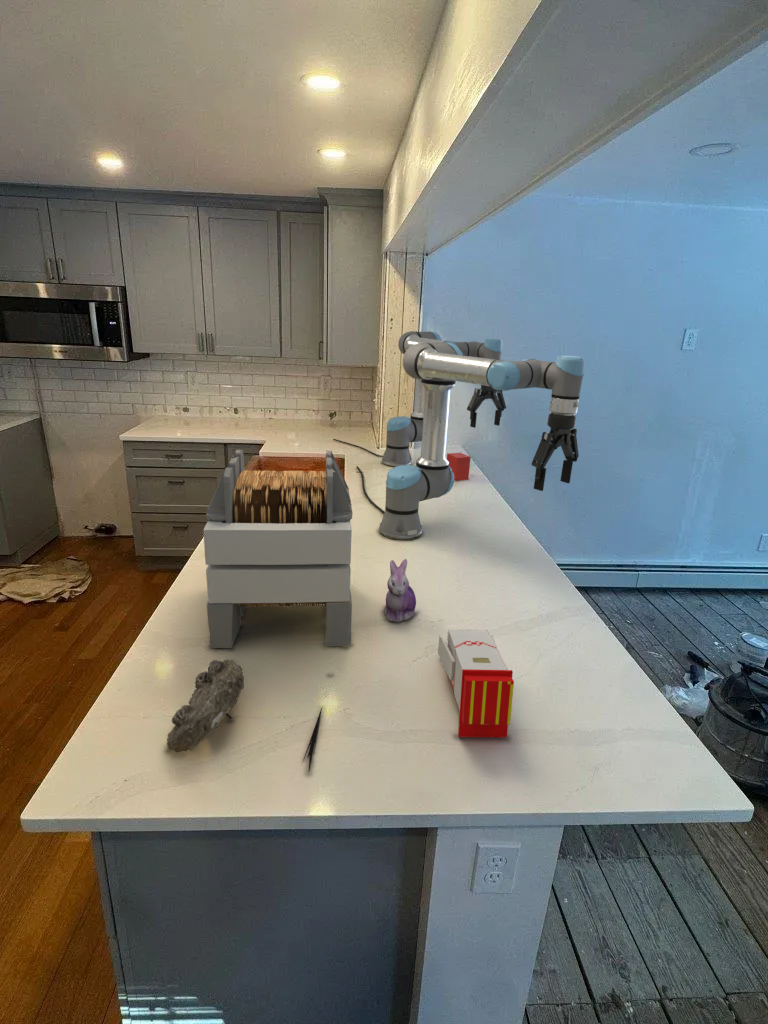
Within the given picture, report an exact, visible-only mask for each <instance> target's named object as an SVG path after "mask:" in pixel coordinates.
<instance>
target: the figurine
mask: <svg viewBox="0 0 768 1024" xmlns="http://www.w3.org/2000/svg"><path fill="white" fill-rule="evenodd" d="M407 567H408V559H406V558H404V559H403V560H402V561H401V563H400V565H399V566H398V565H397V563H396V562H395V561H394V560H393V559H391V560H390V561H389V570H390V576H389V578H388V579H387V589H388V591H387V592H386V594H385V595H386V596H385V607H384V615H385V616H386V620H387V621H391V622H395V623H400V622H402V621H406V620H409V619H410V618H411V617H413V616H414V615H415V610H416V606H417V597H416V593H415V591H414V590H413V587H411V586H410V582H409V579H408V577H407V574H406V571H407Z"/></svg>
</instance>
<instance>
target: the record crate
mask: <svg viewBox="0 0 768 1024" xmlns="http://www.w3.org/2000/svg"><path fill="white" fill-rule="evenodd" d="M307 471H308V470H307ZM307 471H305V470H282V471H276V470H264V469H263V470H262V469H261V470H256V469H255V470H254V469H253V470H249V469H245V454H244V449H238V448H237V449H235V451H234V454H233V456H231V458H230V460H229V462H228V465H227V467H225V468H224V471H223V473H222V475H221V477H220V480H219V481H218V484H217V487H216V489H215V491H214V493H213V496H212V498H211V500H210V502H209V504H208V506H207V509H206V512H205V516H206V520H207V521H206V524H205V526H204V527H203V530H202V531H203V545H204V559H205V561H204V562H205V565H206V566H207V567H206V570H205V574H206V575H205V576H206V588H207V589H206V590H207V603H206V611H207V612H206V614H207V626H208V634H209V645H208V647H209V648H210V649H212V650H216V649H232V648H233V645H234V643H235V640H236V638H237V635H238V633H239V631H240V628H241V625H242V623H241V617H244V614H245V613H244V612H245V610H246V607H248V608H249V607H252V608H253V607H254V608H255V607H258V608H259V607H260V608H261V607H300V606H301V607H307V606H309V607H310V606H312V607H315V606H316V607H317V606H319V607H320V606H324V607H325V608H324V609H325V647H345V648H347V647H349V646H350V645H352V620H353V617H352V616H353V614H352V613H353V600H352V592H351V571H352V570H351V564H352V563H351V562H352V561H351V560H352V533H353V530H352V529H353V528H352V523H351V520H352V519H353V508H352V507H353V506H352V501H351V495H350V488H349V486H348V484H347V481H346V480H345V478H344V475H343V473H342V470H341V469H340V467H339V463H338V462H337V460H336V457H335V456H334V453H333V451H332V450H325V470H319V471H317V470H309V471H308V472H307Z"/></svg>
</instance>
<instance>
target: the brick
mask: <svg viewBox="0 0 768 1024" xmlns="http://www.w3.org/2000/svg"><path fill="white" fill-rule="evenodd" d="M446 459H447V461H448V462H449V466H450V467H451V469H452V472H453V474H454V482H459V481H467V480H468V481H469V476H470V468H471V467H470V466H471V456H470V455H467V454H465V453H462V452H449V453H446Z"/></svg>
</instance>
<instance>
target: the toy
mask: <svg viewBox="0 0 768 1024" xmlns="http://www.w3.org/2000/svg"><path fill="white" fill-rule="evenodd" d="M446 640H447V643H446V641H445V639H444V636H443V635H442V634H439V637H438V646H437V656H438V657H439V659H440V661H441V663H442V666H443V668H444V670H445V672H446V674H447V677H448V679H449V681H450V684H451V687H452V690H453V693H454V697H455V701H456V705H457V708H458V711H459V714H458V715H459V716H458V730H457V731H458V732H457V737H458V738H508V731H509V726H510V725H511V717H512V707H513V697H514V696H513V695H514V684H515V680H514V679H513V673H514V671H513V670H512V669H508V667H507V665H506V662H505V661H504V659H503V658H502V655H501V653H500V651H499V649H498V647H497V643H496V639H495V637H494V635H493V634H491V632H490V631H489V629H467V628H466V629H465V628H463V629H461V628H460V629H459V628H448V630H447V639H446Z"/></svg>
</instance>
